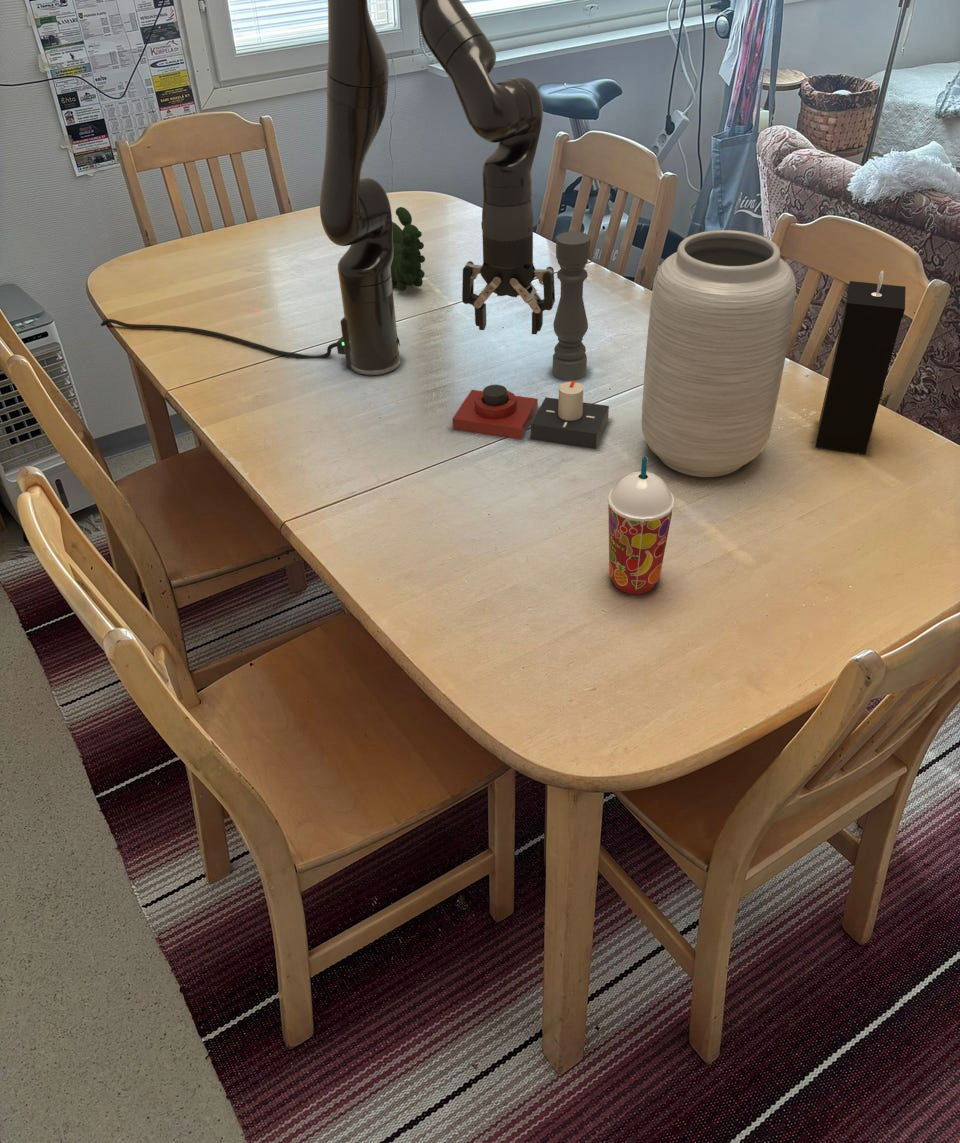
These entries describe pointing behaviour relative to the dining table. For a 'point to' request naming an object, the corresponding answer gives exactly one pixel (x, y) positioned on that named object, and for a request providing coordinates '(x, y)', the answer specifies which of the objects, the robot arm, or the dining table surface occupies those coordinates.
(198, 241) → the dining table surface
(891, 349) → the black pillar candle
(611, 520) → the smoothie
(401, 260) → the dark green lumpy figure
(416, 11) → the robot arm
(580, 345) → the candle holder
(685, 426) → the vase
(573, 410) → the knob
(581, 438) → the control panel
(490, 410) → the button housing
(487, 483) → the dining table surface
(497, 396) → the button
